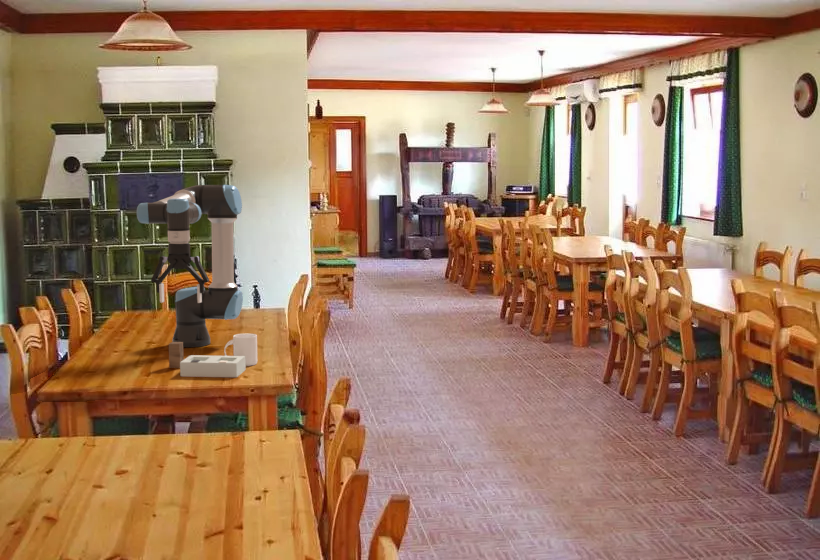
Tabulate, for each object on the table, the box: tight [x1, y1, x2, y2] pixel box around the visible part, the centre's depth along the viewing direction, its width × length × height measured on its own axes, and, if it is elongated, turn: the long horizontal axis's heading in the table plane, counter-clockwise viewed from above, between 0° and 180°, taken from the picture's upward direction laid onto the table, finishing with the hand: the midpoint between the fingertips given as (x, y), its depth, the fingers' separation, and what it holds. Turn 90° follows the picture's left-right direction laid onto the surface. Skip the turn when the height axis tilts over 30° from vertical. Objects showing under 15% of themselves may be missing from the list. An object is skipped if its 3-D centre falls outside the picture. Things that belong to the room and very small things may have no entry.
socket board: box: [179, 354, 247, 378], centre depth 337 cm, size 12×20×5 cm, turn 85°
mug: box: [223, 332, 258, 367], centre depth 351 cm, size 9×12×11 cm
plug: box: [168, 342, 185, 369], centre depth 346 cm, size 4×4×9 cm
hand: (180, 302), depth 339 cm, fingers open, 13 cm apart
